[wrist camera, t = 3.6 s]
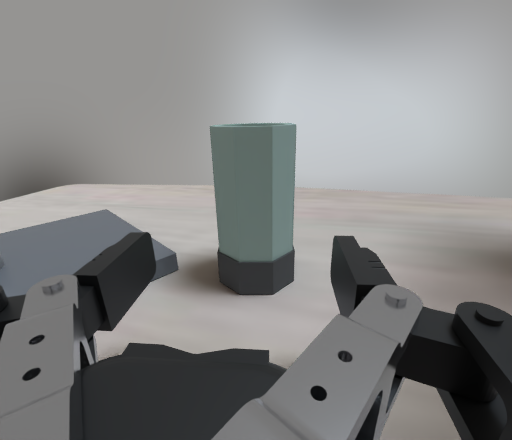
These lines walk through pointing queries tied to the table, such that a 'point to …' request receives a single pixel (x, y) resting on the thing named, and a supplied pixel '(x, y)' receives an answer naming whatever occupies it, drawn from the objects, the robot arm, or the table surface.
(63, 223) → the pin board
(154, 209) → the table surface
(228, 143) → the sleeve
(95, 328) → the robot arm
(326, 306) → the table surface
